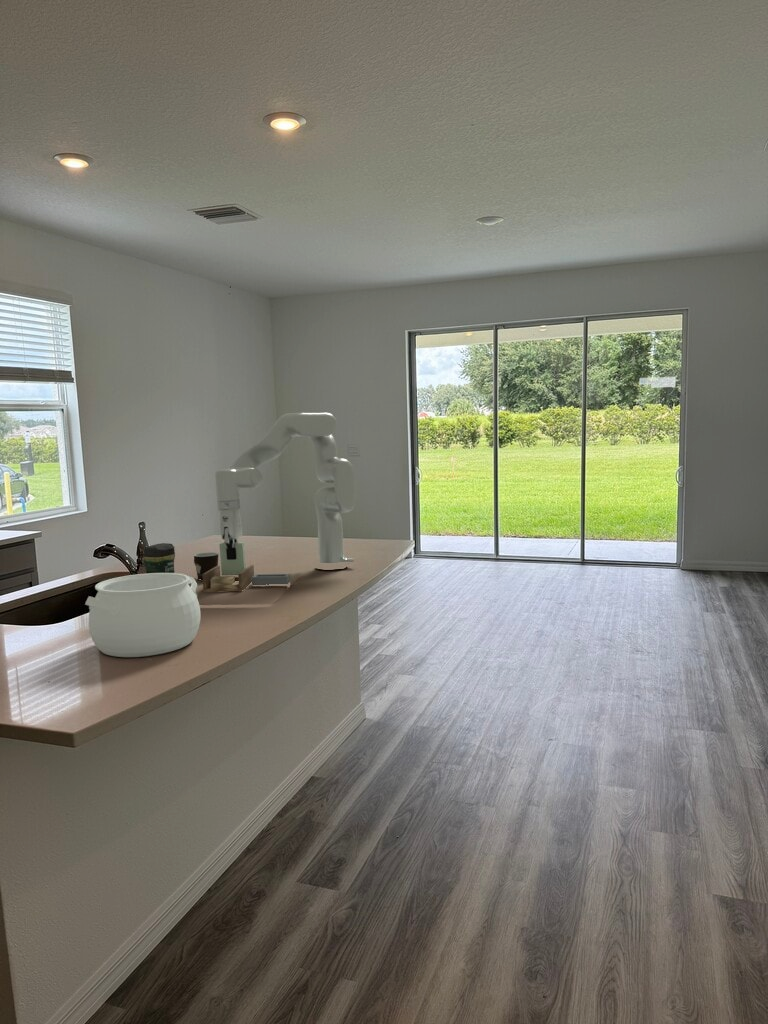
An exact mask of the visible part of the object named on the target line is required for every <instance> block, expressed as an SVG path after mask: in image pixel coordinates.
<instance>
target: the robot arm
mask: <svg viewBox="0 0 768 1024" xmlns="http://www.w3.org/2000/svg"><path fill="white" fill-rule="evenodd" d="M337 428H338V422H337V418H336V417H335V416H334V415H333V414H332V413H331V412H291V413H285V414H282V415H281V416H280V417H279V418H277V420H276V421H275V422H274V423H273V425H272V426H271V427H270V428H269V429H268V431H267V432H266V433H265V434H264V436H263V437H262V438H261V439H260V440H259V441H258V442H256V443H255V444H254V445H252V446H251V447H249V448H247V450H245V451H244V452H243V453H242V454H241V455H239V456H238V458H236V460H235V461H234V462H233V463H232V464H231V466H230V468H223V469H218V470H216V472H215V474H214V476H215V488H216V500H217V511H219V513H220V514H219V516H220V517H219V518H220V519H219V522H220V523H219V525H220V537H221V539H222V540H224V542H223V543H225V544H226V554H227V560H235V559H236V548H235V544H234V542H239V538H240V537H242V536H243V534H244V533H243V531H244V530H243V525H242V516H241V511H240V510H241V497H240V494H241V493H240V489H245V490H246V489H247V490H249V489H250V490H251V489H252V490H253V489H256V488H257V487H259V486H260V485H261V484H262V482H263V474H262V472H261V471H260V470H259V469H258V467H259V466H261V465H263V464H266V463H267V462H270V461H273V460H275V459H277V458H279V457H280V456H281V455H282V453H283V452H285V450H286V448H287V447H288V446H289V445H290V444H291V442H292V441H293V440H294V439H295V438H296V437H299V438H300V437H301V438H302V437H306V438H308V440H310V441H311V444H312V446H313V449H314V459H315V474H316V478H317V480H318V481H320V482H321V483H322V484H323V483H324V484H334V485H333V486H323V487H320V488H319V489H317V490H316V492H315V494H314V497H313V502H314V507H315V511H316V517H317V518H316V519H317V540H318V541H317V542H318V543H317V544H318V563H319V562H320V563H338V562H355V563H356V560H355V559H356V558H353V557H352V558H351V557H348V558H347V557H346V555H345V554H344V535H343V533H344V531H343V528H344V527H343V526H344V525H343V520H342V515H341V513H342V514H343V513H344V514H345V513H349V512H352V510H354V508H355V506H356V501H357V496H356V495H357V494H356V493H357V492H356V491H357V490H356V477H355V469H354V466H353V464H352V463H351V461H349V460H348V459H346V458H342V457H341V458H340V457H339V456H338V447H337V442H336V440H335V437H334V434H335V432H336V431H337Z"/></svg>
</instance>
